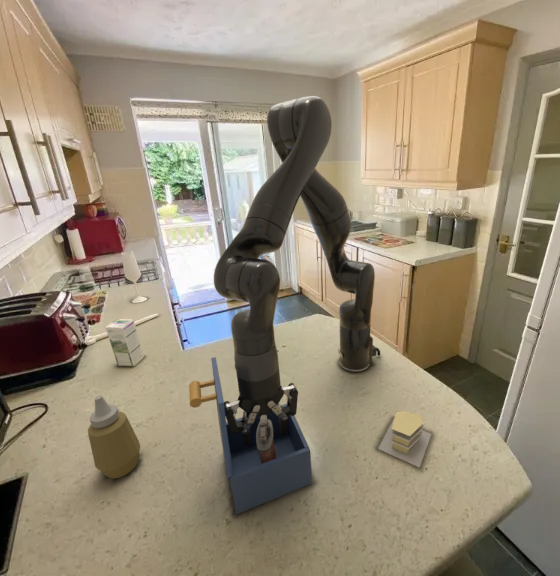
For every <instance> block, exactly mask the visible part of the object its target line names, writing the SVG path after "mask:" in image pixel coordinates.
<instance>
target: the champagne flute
mask: <svg viewBox="0 0 560 576" xmlns="http://www.w3.org/2000/svg"><path fill="white" fill-rule="evenodd" d="M120 255H121V258H122V265H123V266H122V267H123V273H124V277H125V279H127V280H128V281H129V282H133V286H134V289H135V290H134V291H135V293H136V297H135V298H133V300H131V303H133V304H136V303H137V304H138V303H142V302H143V303H144V302H145V301H147V300H148V297H145V296H141V295H140V291H139V287H138V283H137V282H138V280H139V279H140V277H141V276H142V273H141V270H140V267H139V264H138V262H137V259H136V256H135V254H134V251H124V252H121V254H120Z"/></svg>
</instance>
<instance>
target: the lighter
mask: <svg viewBox="0 0 560 576" xmlns="http://www.w3.org/2000/svg"><path fill="white" fill-rule="evenodd" d="M273 436H274V434H273V426H272V423H271V420H269V419H267V416H266V415H262V416H261V421H260V422H259V424H258V428H257V432H256V443H257V448H258V453H259V455H260V459H261V464H263V463H266V462H268V461H271V460H274V459H277V451H276V447H275V445H274V439H273Z"/></svg>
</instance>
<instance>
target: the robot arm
mask: <svg viewBox="0 0 560 576" xmlns="http://www.w3.org/2000/svg"><path fill="white" fill-rule="evenodd" d="M330 111H331V110H330V109H329V107H328V105H327V103H326V101H325V100H324V99H323V98H321V97H319V96H318V95H317V96H316V95H309V96H308V95H307V96H302V97H297V98H294V99H290V100H286V101H283V102H278V103H275V104H274V105H272V106H271V107H269V110H268V112H267V115H266V116H267V118H266V125H267V130H268V135H269V138H270V140H271V144H272V145H273V148H274V150H275V153H276V154H277V155H278V157H279V159H280V161H281V162H282V163H281V164H280V165H279V167H278V168H276V170H275V171H274V172H273V173H272V174H271V175H270V176H269V177H268V179H267V180H266V181H265V182H264V183H263V184H262V185H261V187H260V188H259V189H258V190H257V193H256V194H255V196H254V198H253V200H252V203H251V205H250V207H249V210H248V212H247V215H246V218H245V220H244V223H243V226H242V228H241V229H240V230H239V232H238V233H237V234H236V235H235V236H234V238H233V240H232V241H231V242H230V244H229V245H228V246H227V247H226V249H225V250H224V251H223V253H222V254H221V256H220V258H219V259H218V261H217V262H216V265H215V267H214V272H213V285H214V288H215V291H216V292H217V293H218V295H219V296H221V297H223V298H225V299H228V300H233V301H239V302H245V303H248V304H249V308H247V309H243V310H240V311H239V312H237V313H235V314H234V316H232V319H231V321H230V322H231V323H230V328H231V335H232V342H233V350H234V353H233V355H234V357H233V358H234V370H235V373H236V380H237V386H238V392H239V393H238V398H237V400H234V401H231V402H230V401H229V400H225V401H224V408H225V417H226V422H228V424H229V427H230V430H231V432H232V434H233V435H235V434H237V433H239V432H240V433H242V438H243V443H244V445H245V446H246V445H248V447H251V446H252V443H251V436H250V431H249V429H250V427H251V425H252V424H253V423H254V420H255V418H256V417H259V416H261V415H263V414H269V413H272V411H273V412H274V413H275V414H276V415H277V416H278V422H279V430H280V433H281V435H282V436H284V435H285V432H287V430H288V425H287V419H288V417H289V416H296V414H297V411H298V410H297V409H298V397H299V391H298V388H297V387H296V385H295V383H294V382H290V383H289V384H288V385H287V386H282V384H281V374H280V373H281V372H280V364H279V353H278V348H277V344H276V336H275V325H274V321H275V315H276V309H277V303H278V298H279V293H280V289H281V276H280V272H279V270H278V268H277V266H276V265H275V264H274V263H273V262H272V261H270V260H267V259H262V258H260V257H261V256H263V255H266V254H272V253H274V252H277V251H279V250H280V249H281V247H282V245H283V243H284V241H285V239H286V235H287V232H288V228H289V226H290V223H291V220H292V218H293V214H294V212H295V209H296V207H297V205H298V202H299V200H300V199H301V201H302V204H303V206H304V208H305V211H306V213H307V216H308V218H309V221H310V224H311V226H312V228H313V230H314V231H313V232H314V233H315V235H316V237H317V239H318V241H319V243H320V246H321V249H322V251H323V254H324V257H325V260H326V263H327V266H328V269H329V273H330V277H331V280H332V282H333V284H334V286H335V288H336V289H337V290H339V291H341V292H344V293H348V294H353V295H355V298H354V299H348V300H345V301H343V302H342V303H340V305H339V310H338V311H339V312H338V313H339V348H338V349H337V351H338V352H337V353H338V355H339V366H340V367H341V368H342V369H343V370H344V371H347V372H351V373H360V372H363V371H367V369H369V367H370V366H372V365H373V357H377V356H378V357H380V356H381V349H379V347H376V346H375V345H374V337H372V335H371V322H372V320H371V319H372V307H373V301H374V289H375V278H376V275H375V272H376V271H375V268H374V266H373V265H372V263H369V262H366V261H358V260H352V259H349V258H348V256H347V254H346V250H345V246H346V244H347V241H348V239H349V237H350V235H351V231H352V226H353V224H352V218H351V215H350V212H349V208H348V205H347V201H346V199H345V198H344V195H343V194H342V193H341V192H340V191H339V190H338V189H337V188H336V187H335V186H334V185H333V184H332V183H331V182H330V181H329V180H327V178H326V177H324V176H323V175H322V174H321V172H319V170H318V169H317V168H316V167H317V166H318V164H319V162H320V161H321V158H322V156H323V155H324V153H325V152H326V149H327V147H328V146H329V142H330V139H331V136H332V130H333V121H332V120H333V119H332V116H331V112H330ZM284 395H285V396H286V400H287V401H286V404H287V407H285V408H283V407H282V406H281V403H280V402H281V400H282V399H283V397H284ZM238 409H241V410H243V412H242V417H241V418H242V419H241V422H236V419H237V418H236V415H237V412H238Z"/></svg>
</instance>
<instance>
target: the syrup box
mask: <svg viewBox="0 0 560 576" xmlns="http://www.w3.org/2000/svg"><path fill="white" fill-rule="evenodd" d="M134 322H135V320H134V319H129V318H128V319H127V318H126V319H123V318H121V319H120V318H117V319H115V320H113V321H112V322H110V323H109V324H108V325H106V326H105V330H106V331H105V332H107V334H108V336H107V337H108V340H109V343H110V347H111V349H112V352H113V356H114V358H115V362H116V364H117V367H135V366H136V365H137V364H138V363H140V362H141V361H142V360H143V359H144V358H145V355H144V352H143V348H142V345H141V342H140V338H139V334H138V331H137V327H136V326H135V323H134Z"/></svg>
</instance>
